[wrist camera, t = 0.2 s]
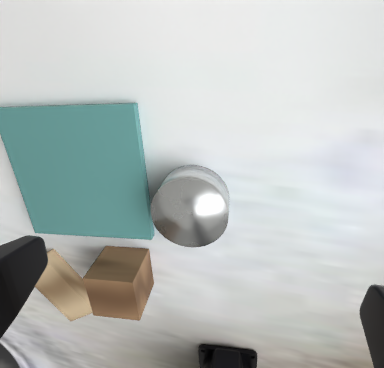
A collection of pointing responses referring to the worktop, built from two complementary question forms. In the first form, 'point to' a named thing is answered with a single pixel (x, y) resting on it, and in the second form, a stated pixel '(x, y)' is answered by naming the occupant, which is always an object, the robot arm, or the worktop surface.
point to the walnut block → (120, 282)
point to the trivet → (80, 168)
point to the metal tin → (191, 206)
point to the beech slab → (64, 288)
